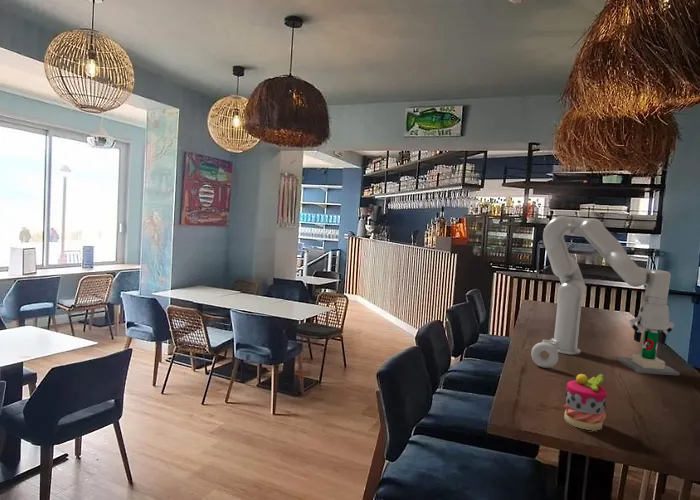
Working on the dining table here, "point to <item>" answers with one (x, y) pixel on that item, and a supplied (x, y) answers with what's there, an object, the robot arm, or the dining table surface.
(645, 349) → the soda can
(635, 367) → the build base
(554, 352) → the donut
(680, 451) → the dining table surface
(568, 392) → the cake
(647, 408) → the dining table surface
